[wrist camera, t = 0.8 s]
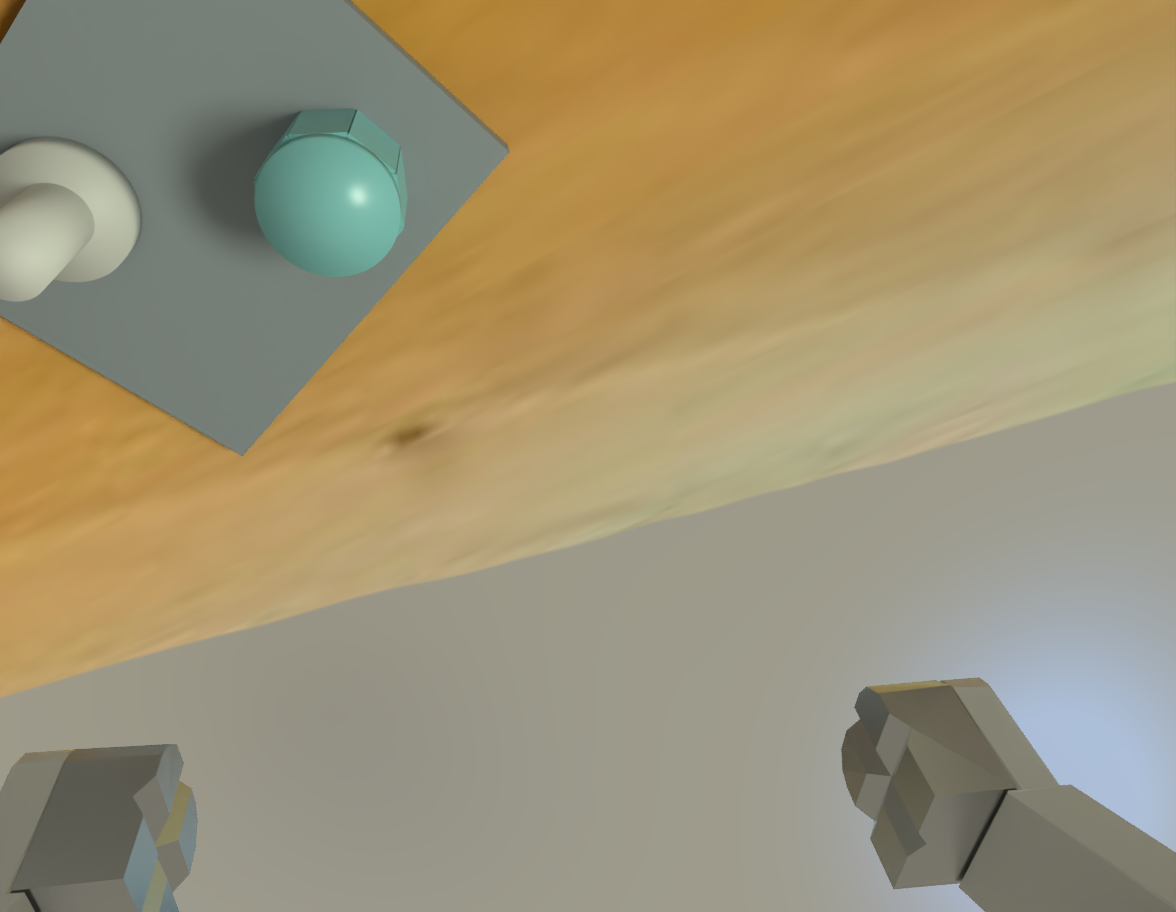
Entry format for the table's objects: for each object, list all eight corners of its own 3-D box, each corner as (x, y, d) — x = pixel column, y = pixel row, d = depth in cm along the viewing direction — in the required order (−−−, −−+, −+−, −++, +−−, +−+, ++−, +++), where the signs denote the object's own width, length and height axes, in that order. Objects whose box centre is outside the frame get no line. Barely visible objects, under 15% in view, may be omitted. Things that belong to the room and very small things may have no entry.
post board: (146, -188, 32) (68, -200, 26) (507, 145, 41) (519, 201, 34) (-105, 236, 40) (-217, 314, 33) (246, 444, 48) (214, 538, 42)
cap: (323, 80, 37) (309, 106, 33) (430, 171, 40) (428, 205, 36) (248, 180, 39) (225, 216, 35) (355, 261, 42) (345, 302, 38)
